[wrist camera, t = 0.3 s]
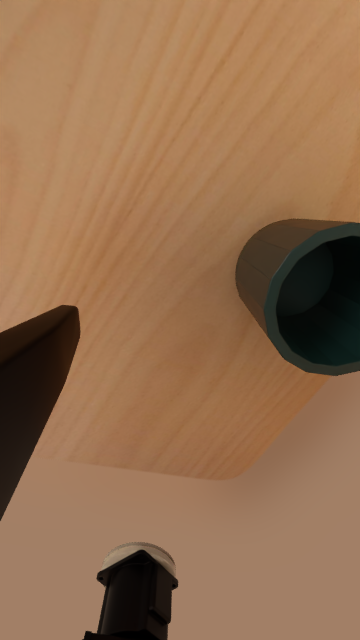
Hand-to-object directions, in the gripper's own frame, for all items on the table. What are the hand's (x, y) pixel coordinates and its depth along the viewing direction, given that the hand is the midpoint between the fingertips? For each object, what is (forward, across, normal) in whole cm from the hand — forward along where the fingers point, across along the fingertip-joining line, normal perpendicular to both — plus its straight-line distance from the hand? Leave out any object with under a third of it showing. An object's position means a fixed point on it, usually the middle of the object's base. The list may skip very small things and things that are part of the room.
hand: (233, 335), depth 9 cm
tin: (+15, -6, +4) cm, 17 cm away
